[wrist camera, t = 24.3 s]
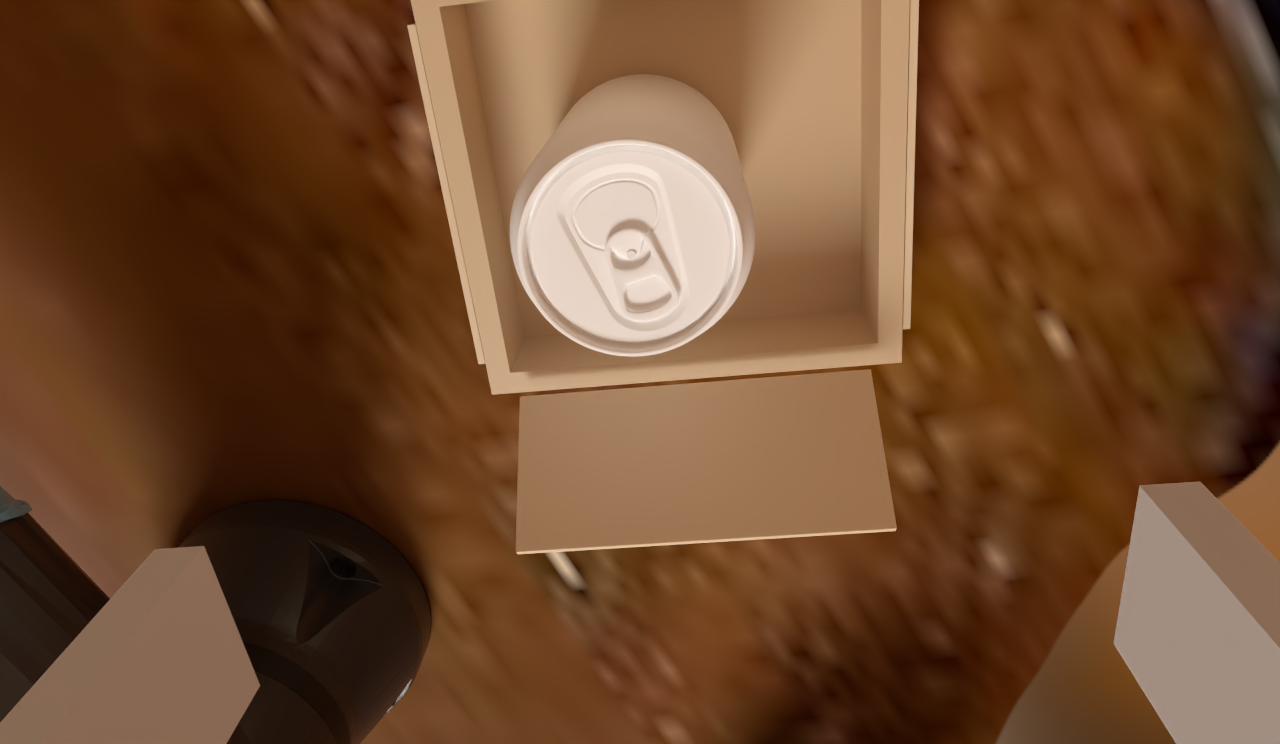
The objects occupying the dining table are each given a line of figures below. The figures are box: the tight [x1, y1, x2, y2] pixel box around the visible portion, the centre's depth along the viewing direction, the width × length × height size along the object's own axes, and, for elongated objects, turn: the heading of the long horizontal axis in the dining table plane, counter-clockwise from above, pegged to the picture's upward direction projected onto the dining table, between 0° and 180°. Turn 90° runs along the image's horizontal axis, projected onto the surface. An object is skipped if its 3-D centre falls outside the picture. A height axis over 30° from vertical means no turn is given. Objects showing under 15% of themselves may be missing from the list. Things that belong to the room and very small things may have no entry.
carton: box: [407, 0, 919, 395], centre depth 36 cm, size 19×17×4 cm
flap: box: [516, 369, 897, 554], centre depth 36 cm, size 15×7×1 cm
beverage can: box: [510, 74, 756, 357], centre depth 32 cm, size 8×8×12 cm
